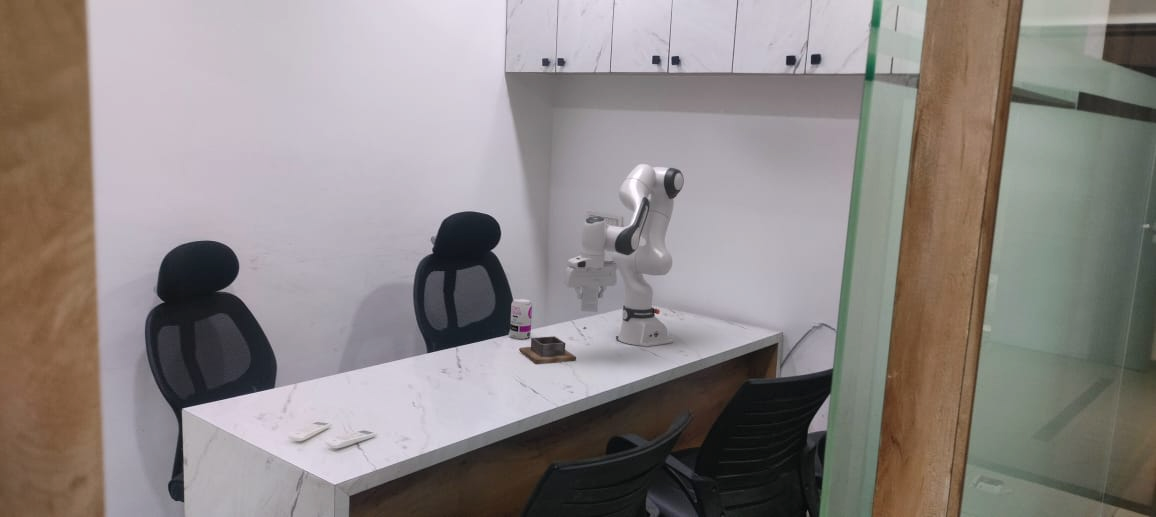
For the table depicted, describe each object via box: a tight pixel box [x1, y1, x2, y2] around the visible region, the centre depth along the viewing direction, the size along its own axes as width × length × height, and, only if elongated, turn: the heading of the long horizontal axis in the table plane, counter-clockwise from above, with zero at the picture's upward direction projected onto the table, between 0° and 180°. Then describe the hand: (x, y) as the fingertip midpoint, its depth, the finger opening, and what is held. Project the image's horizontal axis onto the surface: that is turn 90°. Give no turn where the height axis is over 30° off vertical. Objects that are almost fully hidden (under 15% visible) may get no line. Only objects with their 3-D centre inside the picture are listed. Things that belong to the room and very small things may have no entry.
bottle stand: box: [518, 335, 577, 365], centre depth 292 cm, size 16×16×6 cm
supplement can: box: [509, 297, 533, 340], centre depth 316 cm, size 8×8×15 cm
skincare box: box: [580, 280, 600, 313], centre depth 293 cm, size 6×4×12 cm
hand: (589, 298), depth 293 cm, fingers closed on skincare box, 7 cm apart
